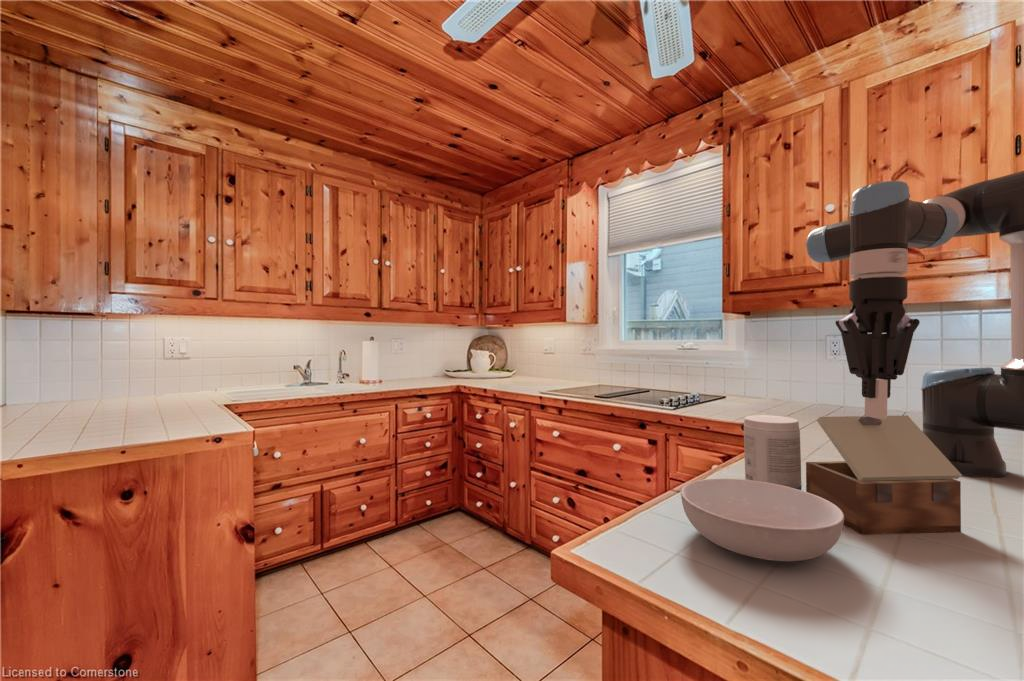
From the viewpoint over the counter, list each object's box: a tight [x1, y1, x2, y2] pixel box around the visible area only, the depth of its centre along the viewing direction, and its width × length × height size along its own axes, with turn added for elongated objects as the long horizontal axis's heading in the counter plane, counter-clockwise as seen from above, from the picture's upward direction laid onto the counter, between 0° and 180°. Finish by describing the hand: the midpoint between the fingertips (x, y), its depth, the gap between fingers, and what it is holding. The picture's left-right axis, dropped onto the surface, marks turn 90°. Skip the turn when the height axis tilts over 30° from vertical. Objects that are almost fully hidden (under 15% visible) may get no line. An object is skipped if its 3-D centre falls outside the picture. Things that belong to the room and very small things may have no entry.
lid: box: [816, 414, 963, 481], centre depth 72 cm, size 16×12×2 cm
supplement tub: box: [743, 414, 803, 491], centre depth 86 cm, size 10×10×15 cm
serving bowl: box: [680, 477, 844, 562], centre depth 65 cm, size 21×21×7 cm
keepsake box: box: [805, 460, 962, 536], centre depth 73 cm, size 16×12×8 cm
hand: (875, 417), depth 74 cm, fingers closed
